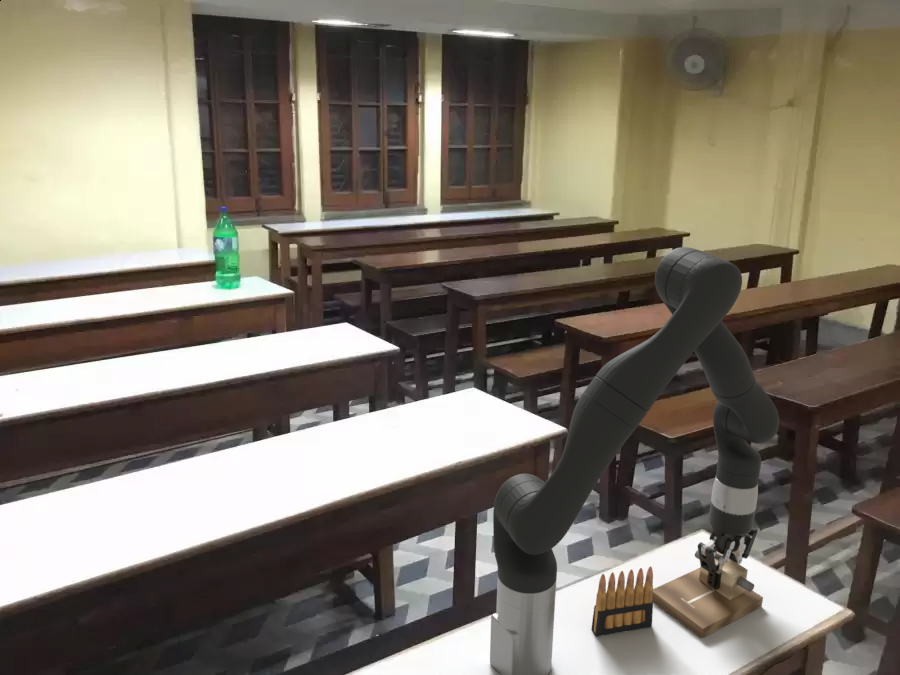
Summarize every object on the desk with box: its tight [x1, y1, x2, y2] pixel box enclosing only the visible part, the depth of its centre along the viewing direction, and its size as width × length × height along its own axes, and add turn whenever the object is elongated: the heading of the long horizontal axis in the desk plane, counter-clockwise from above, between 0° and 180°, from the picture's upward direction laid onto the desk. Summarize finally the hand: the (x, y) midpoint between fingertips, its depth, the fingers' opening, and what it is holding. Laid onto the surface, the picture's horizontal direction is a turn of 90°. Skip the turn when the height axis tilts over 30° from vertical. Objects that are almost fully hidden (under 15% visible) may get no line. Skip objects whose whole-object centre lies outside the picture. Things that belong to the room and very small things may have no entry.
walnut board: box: [652, 567, 764, 639], centre depth 135 cm, size 16×12×2 cm
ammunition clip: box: [591, 565, 654, 637], centre depth 127 cm, size 11×2×12 cm, turn 104°
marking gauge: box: [694, 549, 755, 600], centre depth 136 cm, size 4×12×5 cm, turn 31°
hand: (721, 582), depth 136 cm, fingers closed on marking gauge, 4 cm apart
